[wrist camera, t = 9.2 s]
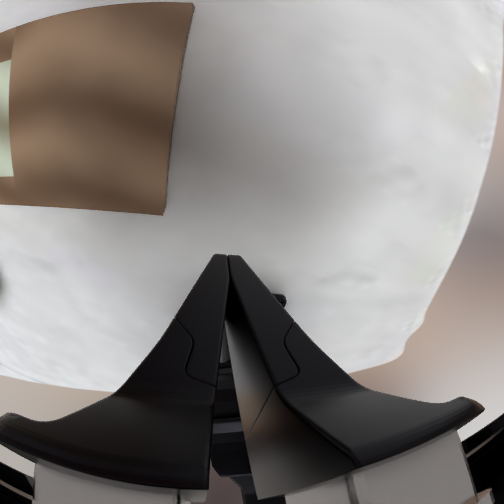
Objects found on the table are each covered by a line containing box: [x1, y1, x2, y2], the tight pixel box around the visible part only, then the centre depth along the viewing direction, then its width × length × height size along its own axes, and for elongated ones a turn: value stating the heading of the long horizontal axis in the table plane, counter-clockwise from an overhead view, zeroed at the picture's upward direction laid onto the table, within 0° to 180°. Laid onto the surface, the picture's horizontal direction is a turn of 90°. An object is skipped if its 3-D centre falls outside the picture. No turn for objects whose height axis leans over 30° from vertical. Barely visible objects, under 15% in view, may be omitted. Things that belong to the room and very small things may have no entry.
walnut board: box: [0, 2, 195, 216], centre depth 12 cm, size 14×22×1 cm, turn 78°
